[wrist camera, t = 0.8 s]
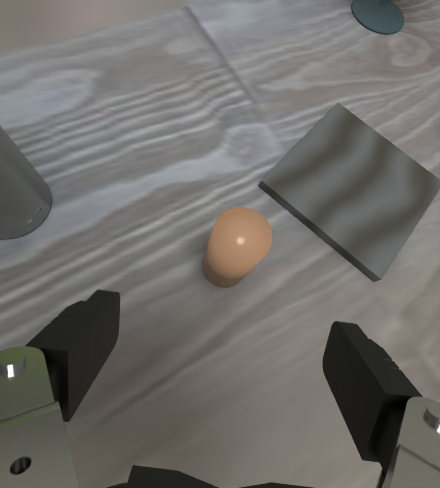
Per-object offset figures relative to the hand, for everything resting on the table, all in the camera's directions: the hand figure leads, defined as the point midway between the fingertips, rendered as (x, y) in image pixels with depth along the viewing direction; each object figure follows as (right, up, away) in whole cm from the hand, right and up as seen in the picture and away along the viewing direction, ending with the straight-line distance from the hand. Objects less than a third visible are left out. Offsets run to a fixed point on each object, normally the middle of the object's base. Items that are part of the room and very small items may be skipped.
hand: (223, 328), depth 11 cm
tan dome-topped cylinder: (0, 0, +26) cm, 26 cm away
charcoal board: (+19, +12, +32) cm, 39 cm away
